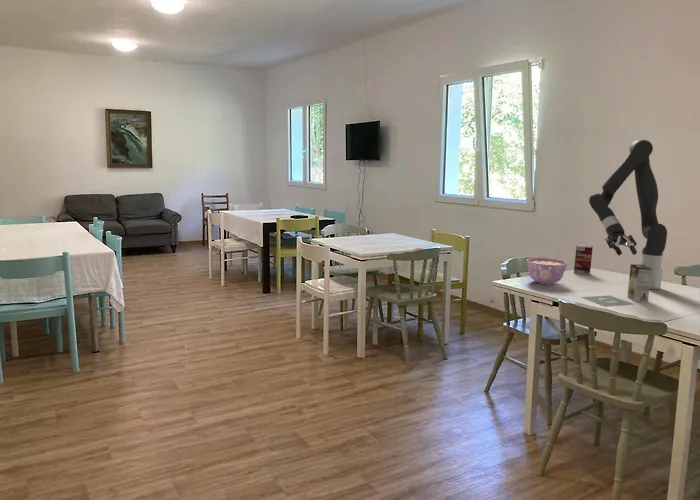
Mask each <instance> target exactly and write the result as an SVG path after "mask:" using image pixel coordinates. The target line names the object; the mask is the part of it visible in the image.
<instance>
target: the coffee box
mask: <svg viewBox="0 0 700 500" xmlns="http://www.w3.org/2000/svg"><path fill="white" fill-rule="evenodd" d="M651 272H652V269H651V268H650V267H648V266H646V265H641V264H636V263H635V264H634V263H633V264H630V268H629V278H628V288H627V298H628V299H630V300H631V301H632V302H634V303H648V302H649V296H650V289H649V288H650V280H651Z"/></svg>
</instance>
